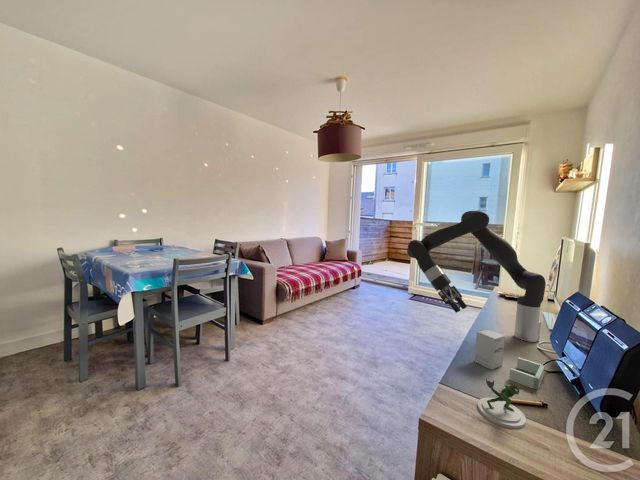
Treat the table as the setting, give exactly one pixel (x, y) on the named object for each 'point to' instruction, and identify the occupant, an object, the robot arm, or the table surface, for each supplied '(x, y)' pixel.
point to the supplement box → (489, 349)
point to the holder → (527, 378)
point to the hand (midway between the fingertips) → (461, 309)
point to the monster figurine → (502, 407)
